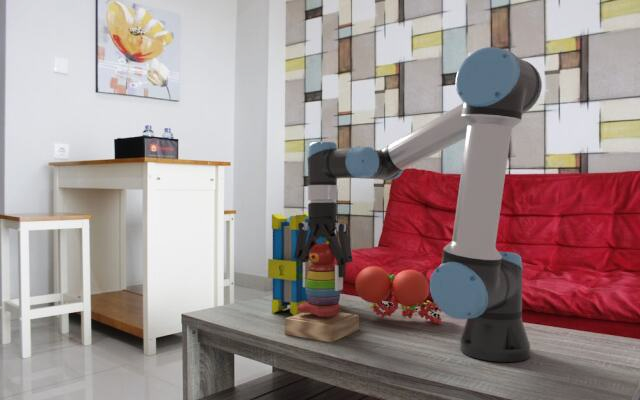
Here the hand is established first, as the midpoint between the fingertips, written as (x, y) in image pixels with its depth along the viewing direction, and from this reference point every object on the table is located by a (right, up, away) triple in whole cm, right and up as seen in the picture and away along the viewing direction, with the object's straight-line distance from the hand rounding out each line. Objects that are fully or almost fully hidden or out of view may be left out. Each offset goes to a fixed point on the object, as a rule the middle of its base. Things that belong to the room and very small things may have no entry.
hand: (322, 288), depth 133 cm
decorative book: (-5, -12, +27) cm, 30 cm away
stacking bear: (0, -6, 0) cm, 6 cm away
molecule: (+22, -12, +11) cm, 27 cm away
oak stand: (0, -11, 0) cm, 11 cm away
